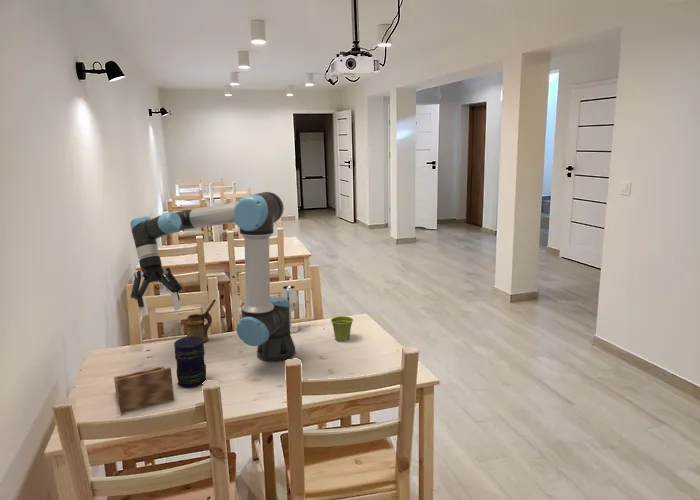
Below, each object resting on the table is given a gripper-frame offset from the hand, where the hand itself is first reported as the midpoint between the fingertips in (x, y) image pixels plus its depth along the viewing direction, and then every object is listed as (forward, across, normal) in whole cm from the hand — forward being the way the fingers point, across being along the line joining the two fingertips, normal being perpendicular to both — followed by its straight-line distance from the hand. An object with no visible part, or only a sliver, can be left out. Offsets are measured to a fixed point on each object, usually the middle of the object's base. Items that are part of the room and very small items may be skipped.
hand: (162, 312), depth 184 cm
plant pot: (+29, -58, +34) cm, 73 cm away
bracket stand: (+27, +17, +4) cm, 32 cm away
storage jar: (+27, +2, +10) cm, 29 cm away
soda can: (+17, -43, -2) cm, 46 cm away
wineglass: (+20, -55, +10) cm, 59 cm away
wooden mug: (+14, -26, -14) cm, 32 cm away
